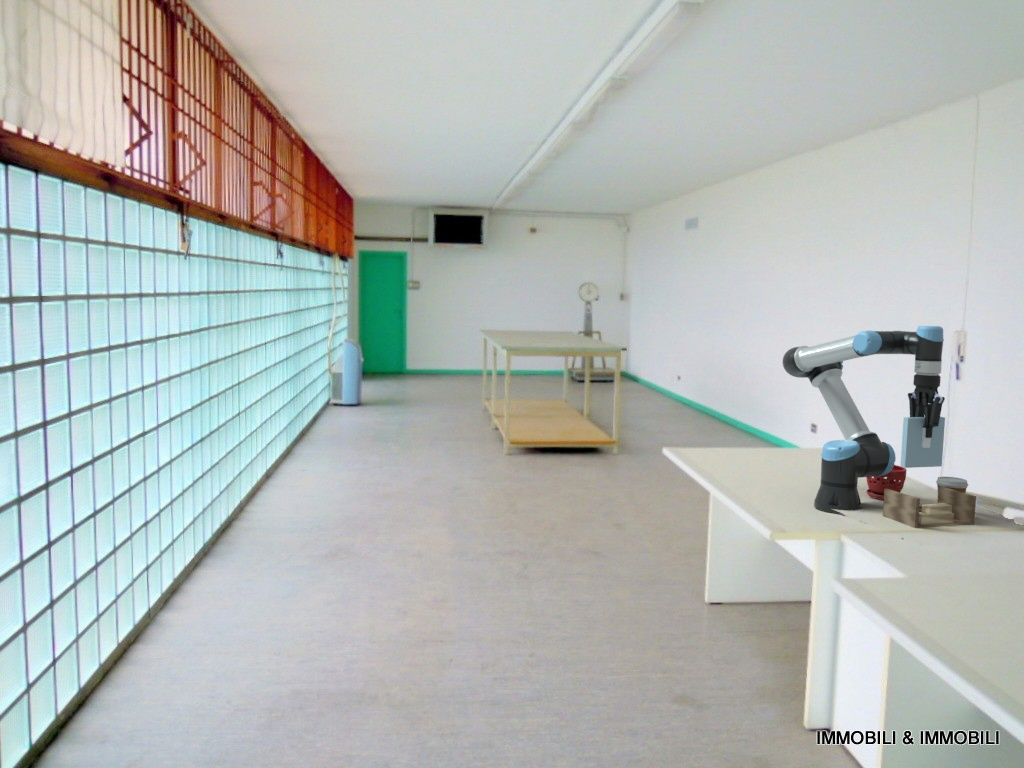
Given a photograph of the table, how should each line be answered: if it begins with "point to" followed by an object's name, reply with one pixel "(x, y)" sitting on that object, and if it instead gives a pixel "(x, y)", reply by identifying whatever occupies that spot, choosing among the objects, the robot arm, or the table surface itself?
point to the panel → (913, 439)
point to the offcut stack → (936, 514)
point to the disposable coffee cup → (952, 483)
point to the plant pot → (886, 482)
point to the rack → (909, 507)
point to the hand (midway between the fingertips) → (922, 446)
